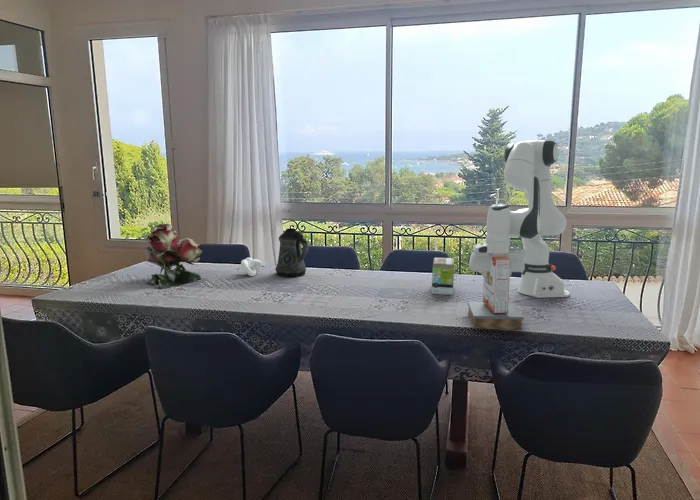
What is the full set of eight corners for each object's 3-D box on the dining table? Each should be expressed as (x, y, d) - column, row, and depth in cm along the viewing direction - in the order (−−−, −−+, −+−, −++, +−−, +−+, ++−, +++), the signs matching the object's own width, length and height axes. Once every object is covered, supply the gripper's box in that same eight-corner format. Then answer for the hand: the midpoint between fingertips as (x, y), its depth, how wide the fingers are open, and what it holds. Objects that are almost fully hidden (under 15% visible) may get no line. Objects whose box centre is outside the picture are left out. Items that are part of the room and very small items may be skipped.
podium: (512, 314, 200) (512, 302, 199) (522, 330, 182) (523, 317, 181) (466, 313, 201) (467, 301, 200) (473, 328, 184) (473, 315, 183)
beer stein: (280, 270, 278) (279, 226, 273) (314, 271, 275) (313, 226, 270) (271, 277, 262) (270, 230, 257) (307, 278, 259) (306, 231, 254)
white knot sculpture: (233, 275, 266) (232, 259, 265) (249, 271, 276) (249, 255, 274) (248, 278, 260) (247, 261, 258) (264, 274, 270) (263, 257, 268)
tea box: (453, 295, 227) (454, 264, 224) (431, 294, 229) (432, 263, 226) (453, 286, 242) (454, 257, 239) (432, 285, 244) (433, 256, 241)
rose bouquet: (210, 277, 263) (206, 221, 257) (164, 290, 238) (159, 228, 233) (177, 271, 276) (173, 218, 270) (130, 283, 251) (125, 225, 245)
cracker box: (481, 302, 198) (483, 251, 194) (496, 302, 198) (499, 251, 194) (492, 313, 184) (495, 259, 180) (508, 313, 184) (511, 258, 180)
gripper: (523, 245, 188) (521, 280, 191) (469, 245, 190) (467, 280, 193) (527, 249, 182) (525, 285, 185) (471, 248, 184) (470, 284, 187)
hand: (495, 282), depth 189 cm, fingers closed on cracker box, 6 cm apart
